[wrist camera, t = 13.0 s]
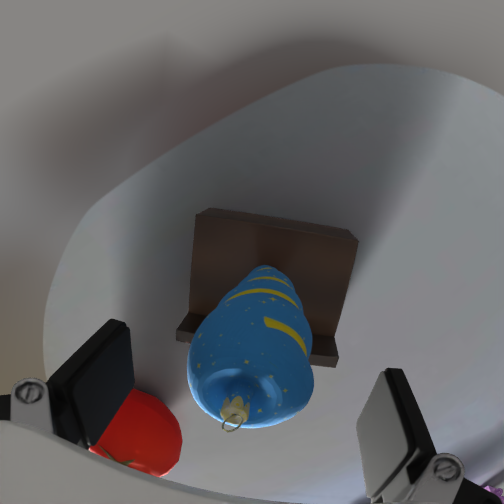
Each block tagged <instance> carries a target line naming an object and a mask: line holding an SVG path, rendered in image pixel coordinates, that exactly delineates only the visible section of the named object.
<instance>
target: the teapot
mask: <svg viewBox="0 0 504 504" xmlns="http://www.w3.org/2000/svg"><path fill="white" fill-rule="evenodd" d="M480 487H482V488H483V486H480ZM484 489H486V490H488V491H490V492H492V493H494V494H495V495H497V496H498V497H499V498H500V499H501V501H502V504H504V502H503V500H504V496H501V495H502V493H503V490H502V489H501V488H498V489H496V488H493V487H491V486H486V487H485V488H484ZM499 491H500V492H499Z"/></svg>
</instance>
